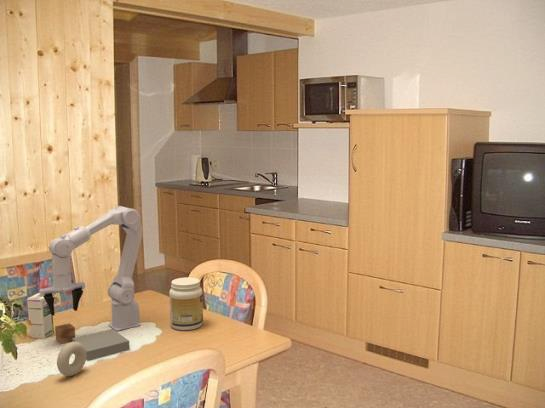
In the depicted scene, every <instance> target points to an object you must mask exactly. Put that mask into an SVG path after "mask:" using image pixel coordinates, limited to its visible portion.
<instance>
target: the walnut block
mask: <svg viewBox="0 0 545 408" xmlns="http://www.w3.org/2000/svg"><path fill="white" fill-rule="evenodd" d="M54 332H55V341H57V343H58V344H59V345H60V346H61V345H66V344H68V343H70V342H72V338H75V337H76V327H75V326H74V325H73V324H71V323H70V322H69V323H66V324H65V323H64V324H61V325H55V326H54Z"/></svg>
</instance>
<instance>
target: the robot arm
mask: <svg viewBox="0 0 545 408" xmlns="http://www.w3.org/2000/svg"><path fill="white" fill-rule="evenodd" d="M141 219H142V216H141V214H140V213H139V212H138V210H137V209H135V208H130V207H126V206H122V205H118V206H116V207H115V208H112V209H110V210H108V211H107V212H106V213H104V214H103V215H102V216H100V217H99V218H97V219H95V220H94V221H92V222H91V223H90V224H88V225H87V226H82V225H79V226H74V227H73V230H71V231H69V232H68V233H65V234H62V235H61V236H60V237H56V238H53V239H52V240H51V242H50V244H49V245H48V251H49V252H50V253H51V258H52V259H51V264H52V265H51V266H52V283H53V285H51V286H49V287H46V288H41V289H39V293H40V296H43V297H44V299H45V301H46V302H47V304H48V307H49V310H50V314H51V315H52V316H55V297H54V295H55V294H60V293H65V292H70V291H71V296H72V308H73V309H72V310H73V311H75V312H77V311H78V307H79V303H80V299H81V298H82V295H83V294H84V290H85V289H86V284H85V282H83V281H81V282H79V281H78V282H72V267H71V254H72V253H73V250H76V249H77V248H78V247H80V246H81V245H82V246H83V244H85V243H87V242H89V241H90V240H91V236H92V235H94V234H96V233H98V232H99V231H102V230H103V229H105V228H107V227H109V226H111V225H115V226H116V225H117V226H118V225H119V226H120V227H122V229H123V230H124V232H125V233H126V235H125V238H124V239H125V240H124V243H123V249H122V254H121V258H120V260H119V261H120V262H119V266H118V271H117V274H116V275H115V277H113V279H112V282H111V284H110V285H109V287H108V289H107V295H108V296H109V298H110V299H111V300H110V301H111V302H110V303H111V304H110V305H111V306H110V307H111V319H112V320H111V322H110V323H108V324H107V326H109V327H111V329H114V330H115V331H116V332H118V331H122V330H126V329H131V328H134V327H138V326H139V327H140V326H141V321H140V305H139V303H138V301H137V300H136V299H134V298H135V294H136V293H135V282H134V280H133V275H134V271H135V268H136V267H135V266H136V262H137V257H138V255H139V254H138V253H139V250H140V245H141V242H142V241H141V240H142V236H143V232H144V230H143V225H142V221H141Z"/></svg>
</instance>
